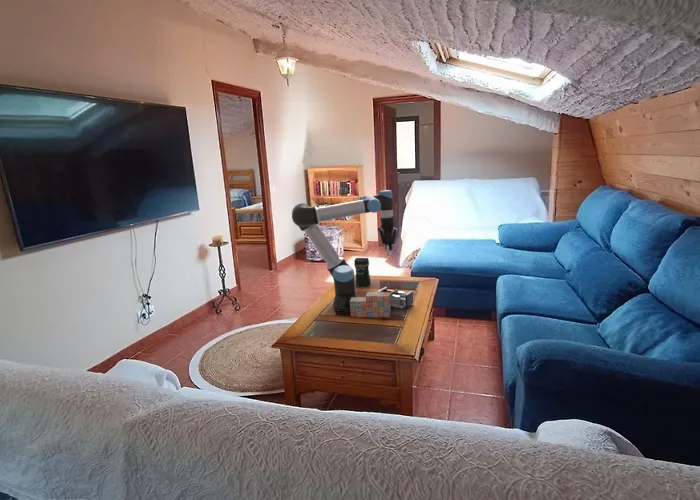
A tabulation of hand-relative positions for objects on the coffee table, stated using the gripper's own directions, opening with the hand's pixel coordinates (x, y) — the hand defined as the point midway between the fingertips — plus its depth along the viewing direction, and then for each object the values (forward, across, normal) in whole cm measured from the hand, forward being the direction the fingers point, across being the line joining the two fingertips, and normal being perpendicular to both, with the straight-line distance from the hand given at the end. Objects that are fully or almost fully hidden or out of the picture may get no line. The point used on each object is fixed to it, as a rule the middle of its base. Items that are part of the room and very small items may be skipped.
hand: (389, 255), depth 245 cm
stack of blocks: (+25, -7, +33) cm, 42 cm away
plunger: (+24, -13, +13) cm, 30 cm away
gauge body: (+24, -10, +13) cm, 29 cm away
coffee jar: (+25, +25, -6) cm, 36 cm away
